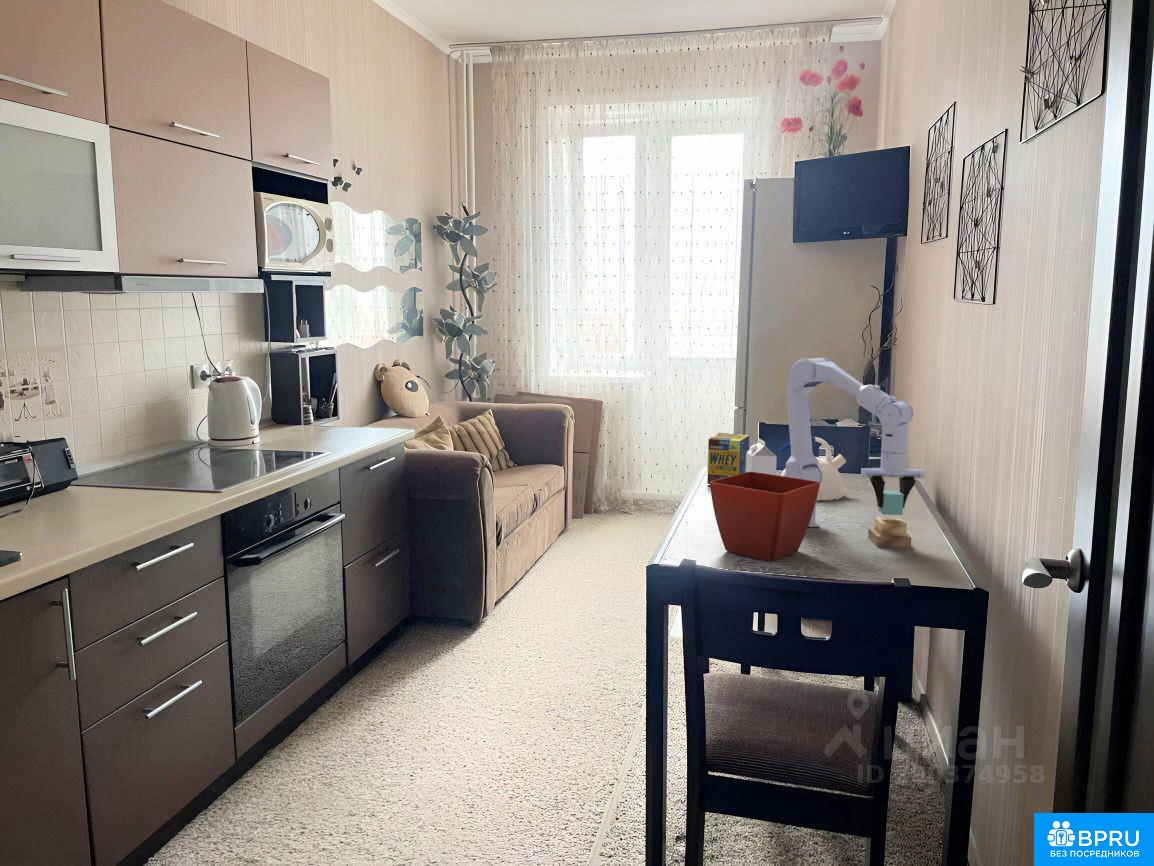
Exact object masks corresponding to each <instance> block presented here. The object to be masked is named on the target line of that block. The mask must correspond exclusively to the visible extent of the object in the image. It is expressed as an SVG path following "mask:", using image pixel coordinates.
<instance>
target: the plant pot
mask: <svg viewBox="0 0 1154 866" xmlns="http://www.w3.org/2000/svg"><path fill="white" fill-rule="evenodd" d="M819 486H820V482H817V481H811V480H804V479H798V478H791V477H785V476H781V475H777V474H776V475H772V474H765V473H759V472H745V473H741V474H737V475H733V476H729V477H725V478H721V479H717V480H713V481H710V486H709V488H710V495H711V500H712V501H711V502H712V507H713V508H712V509H713V512H714V517H715V520H716V524H717V528H718V533H719V536H720V538H721V541H722V544H723V547H724V549H725V551H726V552H729V553H734V554H738V555H742V556H747V557H749V558H754V559H758V560H759V559H760V560H763V561H767V562H775V561H777V560H780V559H782V558H784V557H787V556H789V555H790V556H791V555H792V554H794V553H796V552H798V551H799V549H800V547H801V545H802V543H803V540H804V538H805V536H806V533H807V530H808V528H809V527H808V525H809V523H810V520H811V517H812V514H813V510H814V507H815V503H816V504H817V501H816V500H817V496H818V492H819Z"/></svg>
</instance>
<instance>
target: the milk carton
mask: <svg viewBox="0 0 1154 866" xmlns="http://www.w3.org/2000/svg"><path fill="white" fill-rule="evenodd" d="M777 457H778V456H777V455H776V454H775V453H774V452H773V451H771V450H770V449H769V448H768V447H767V446H766V442H765V441H764V440H762V439H761V438H758V442H757V443H754V444H752V445H751V446H749V451H748V452H747V456H746V472H759V473H765V474H772V475H777Z"/></svg>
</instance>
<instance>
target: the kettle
mask: <svg viewBox="0 0 1154 866" xmlns="http://www.w3.org/2000/svg"><path fill="white" fill-rule="evenodd" d="M811 440H812V442H817V443H820V444H821V445H823V447H824V450H825V455H824V456H825V457H824V458H821V457H818V456H815V457H816V458H817V459H818V463H819V467H820V469H821V471H822V474H823V479H822V482H821V484H820V486H819V492H818V496H817V500H824V499H825V500H828V499H837V498H841V497H843V496H844V497H845V482H844V479H843V476H842V475H841V473H840V472H839V469H840V468H841V467H842V466H843V465H844V464H845V463H847V460H846V458H845V457H844V456H843V455H842V454H840V453H838V455H837V456H835V457H834V458H833V459H832V456H833V455H832V454H833V452H832V449H831V446H830V445H829V443H828V442H827V441H825V440H824V439H823V438H820V437H816V436H811ZM789 449H791V445H790V442H788V443H786V444H784V445H783V446H782V447H780V448H779V449H778V450H779V451H780V452H782V453H784V452H786V451H787V450H789ZM785 471H786V467H785V468H784V469H783V470H782V472H781V474H780V476H784V474H785ZM844 497H843V498H844ZM841 499H842V498H841ZM837 500H838V499H837Z"/></svg>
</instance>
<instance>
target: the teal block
mask: <svg viewBox="0 0 1154 866" xmlns="http://www.w3.org/2000/svg"><path fill="white" fill-rule="evenodd" d="M903 498H904V495H903V494H902V493H900V490H884V492H883V507H878V506H877V508H878V509H877V511H879V512H880V514H882V515H884V516H885V515H888V516H891V515H892V516H903V512H904V508H903Z"/></svg>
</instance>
